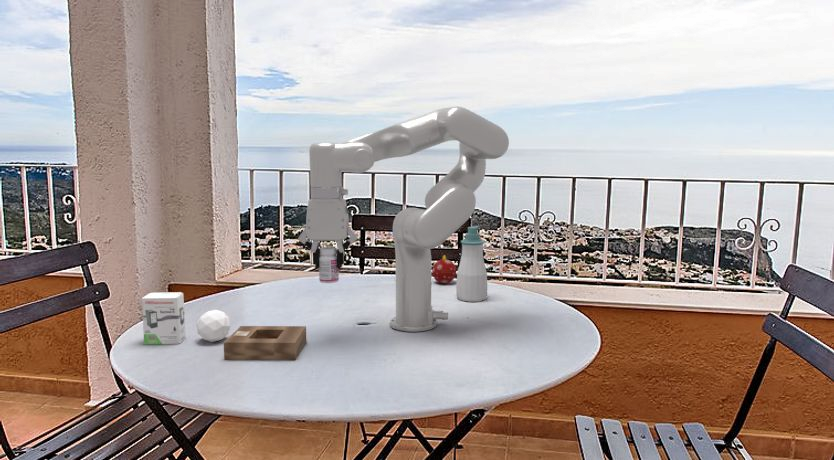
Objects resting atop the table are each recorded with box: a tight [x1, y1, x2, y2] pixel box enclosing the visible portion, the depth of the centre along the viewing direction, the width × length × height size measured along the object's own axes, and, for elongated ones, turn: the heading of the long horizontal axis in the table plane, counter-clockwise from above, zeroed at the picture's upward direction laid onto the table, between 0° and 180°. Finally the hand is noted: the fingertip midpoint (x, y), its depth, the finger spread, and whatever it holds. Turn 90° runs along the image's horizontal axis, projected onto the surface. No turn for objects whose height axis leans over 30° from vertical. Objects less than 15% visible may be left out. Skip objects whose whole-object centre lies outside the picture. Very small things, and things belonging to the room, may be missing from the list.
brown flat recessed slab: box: [223, 325, 307, 361], centre depth 132 cm, size 16×12×4 cm
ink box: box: [141, 291, 186, 345], centre depth 138 cm, size 9×5×12 cm, turn 94°
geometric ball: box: [196, 309, 232, 343], centre depth 139 cm, size 8×8×8 cm
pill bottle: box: [318, 246, 340, 284], centre depth 139 cm, size 5×5×8 cm
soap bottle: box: [455, 225, 488, 303], centre depth 178 cm, size 10×10×23 cm
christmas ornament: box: [431, 254, 457, 284], centre depth 199 cm, size 9×9×10 cm
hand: (328, 266), depth 140 cm, fingers closed on pill bottle, 4 cm apart
